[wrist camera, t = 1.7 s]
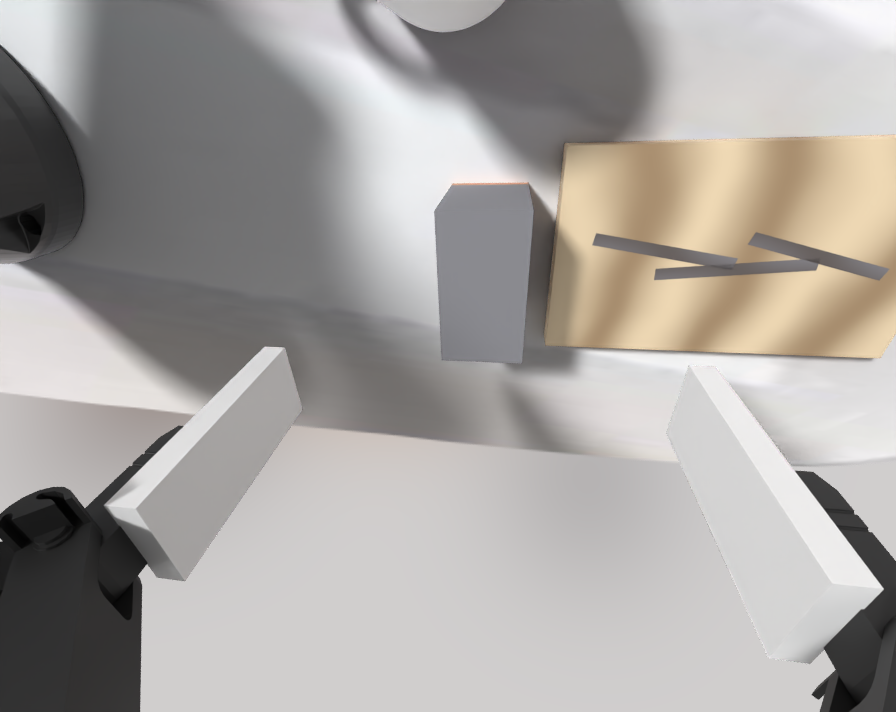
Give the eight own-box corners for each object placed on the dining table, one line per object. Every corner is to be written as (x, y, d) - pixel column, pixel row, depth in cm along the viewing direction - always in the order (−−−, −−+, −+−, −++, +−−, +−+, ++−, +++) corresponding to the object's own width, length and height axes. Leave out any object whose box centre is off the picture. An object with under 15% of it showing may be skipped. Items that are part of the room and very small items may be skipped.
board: (543, 334, 29) (545, 345, 27) (564, 143, 22) (567, 145, 21) (862, 345, 26) (880, 358, 25) (989, 132, 20) (1022, 134, 18)
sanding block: (456, 305, 28) (441, 360, 23) (453, 183, 24) (434, 210, 18) (519, 307, 28) (522, 363, 22) (528, 182, 24) (533, 210, 18)
